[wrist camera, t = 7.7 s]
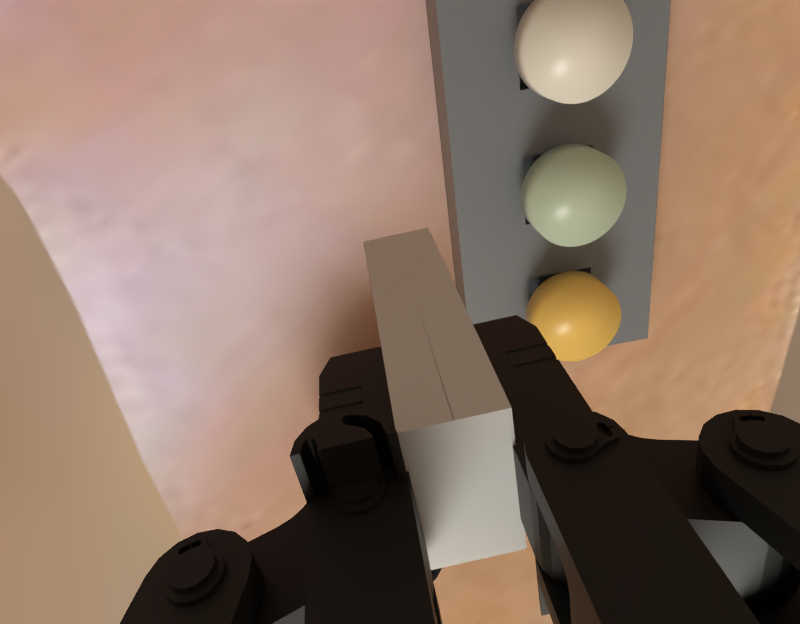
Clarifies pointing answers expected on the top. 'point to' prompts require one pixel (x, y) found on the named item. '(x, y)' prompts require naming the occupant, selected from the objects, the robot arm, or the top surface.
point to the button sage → (573, 194)
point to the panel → (525, 142)
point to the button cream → (573, 47)
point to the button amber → (574, 314)
